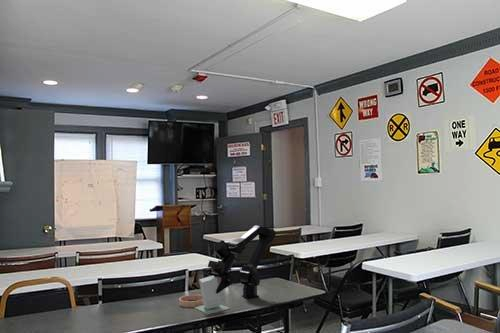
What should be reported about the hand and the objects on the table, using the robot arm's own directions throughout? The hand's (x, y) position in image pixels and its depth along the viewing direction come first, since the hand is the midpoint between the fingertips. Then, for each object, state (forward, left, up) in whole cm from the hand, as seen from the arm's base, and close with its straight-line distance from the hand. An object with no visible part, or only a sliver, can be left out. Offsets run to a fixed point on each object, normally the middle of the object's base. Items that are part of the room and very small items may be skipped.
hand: (209, 291), depth 190 cm
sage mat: (-1, 0, -8) cm, 8 cm away
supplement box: (-1, 0, -7) cm, 7 cm away
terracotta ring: (+2, -14, -8) cm, 17 cm away
